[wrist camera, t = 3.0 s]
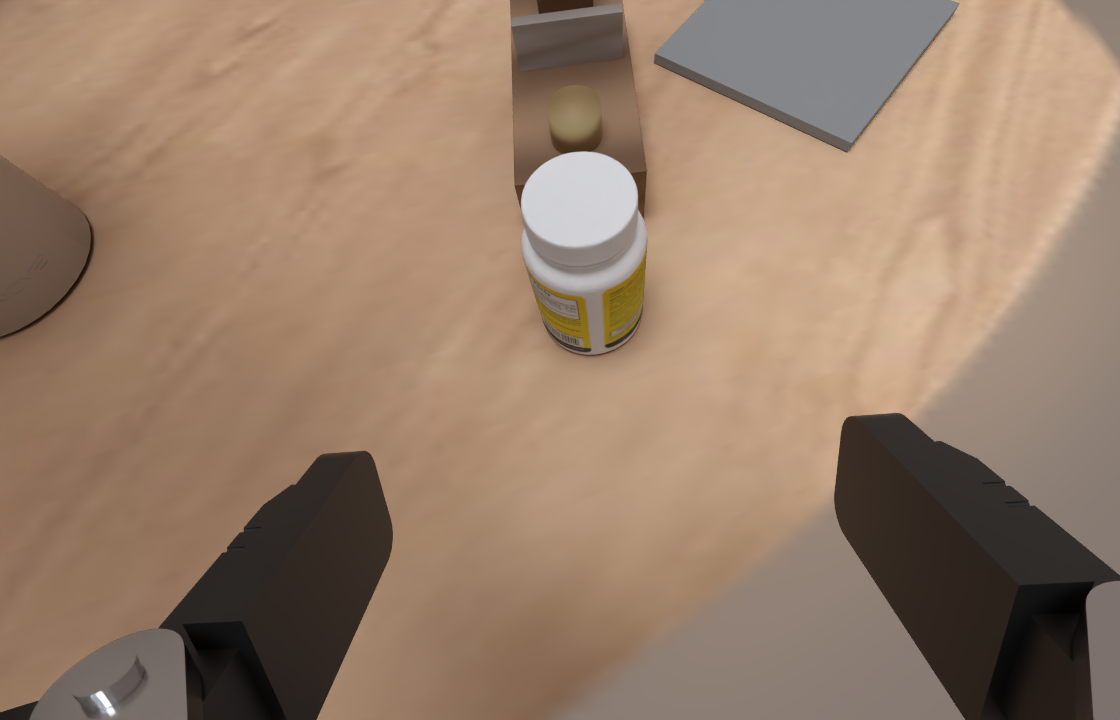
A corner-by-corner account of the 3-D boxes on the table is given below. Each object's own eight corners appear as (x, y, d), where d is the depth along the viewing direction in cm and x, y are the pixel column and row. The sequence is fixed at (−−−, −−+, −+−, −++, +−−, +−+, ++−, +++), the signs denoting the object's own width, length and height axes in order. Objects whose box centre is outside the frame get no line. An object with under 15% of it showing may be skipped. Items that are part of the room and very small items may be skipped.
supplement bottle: (634, 263, 26) (641, 132, 19) (649, 350, 25) (663, 246, 17) (538, 275, 27) (505, 152, 19) (545, 363, 25) (513, 266, 17)
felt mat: (654, 62, 31) (654, 53, 31) (764, -54, 34) (767, -64, 34) (847, 151, 28) (851, 143, 27) (953, 13, 30) (959, 3, 30)
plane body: (643, 219, 27) (651, 106, 21) (526, 231, 28) (498, 124, 21) (618, 29, 33) (617, -108, 26) (520, 42, 33) (496, -90, 27)
